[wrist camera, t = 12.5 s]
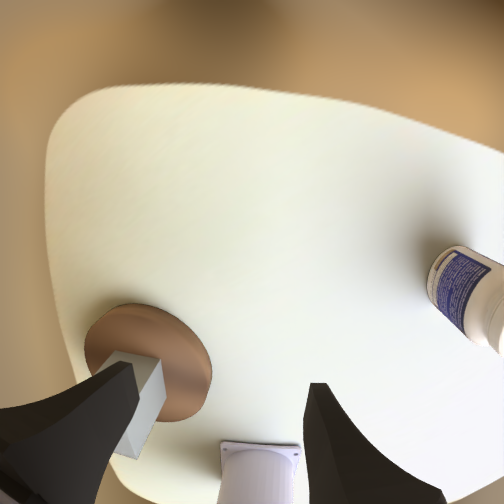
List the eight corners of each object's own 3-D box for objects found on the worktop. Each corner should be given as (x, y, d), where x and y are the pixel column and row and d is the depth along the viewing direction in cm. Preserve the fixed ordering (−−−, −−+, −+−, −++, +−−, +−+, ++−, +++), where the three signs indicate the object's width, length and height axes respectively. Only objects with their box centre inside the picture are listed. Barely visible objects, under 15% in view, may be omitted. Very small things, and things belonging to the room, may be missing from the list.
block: (166, 397, 22) (136, 459, 15) (124, 387, 22) (87, 442, 15) (160, 359, 20) (122, 421, 14) (115, 350, 21) (69, 404, 14)
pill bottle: (424, 314, 20) (480, 380, 11) (425, 250, 19) (498, 296, 10) (474, 300, 19) (537, 352, 11) (478, 239, 18) (554, 274, 10)
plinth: (214, 416, 24) (210, 431, 22) (109, 394, 25) (100, 406, 23) (210, 311, 21) (204, 324, 19) (85, 295, 22) (72, 305, 20)
